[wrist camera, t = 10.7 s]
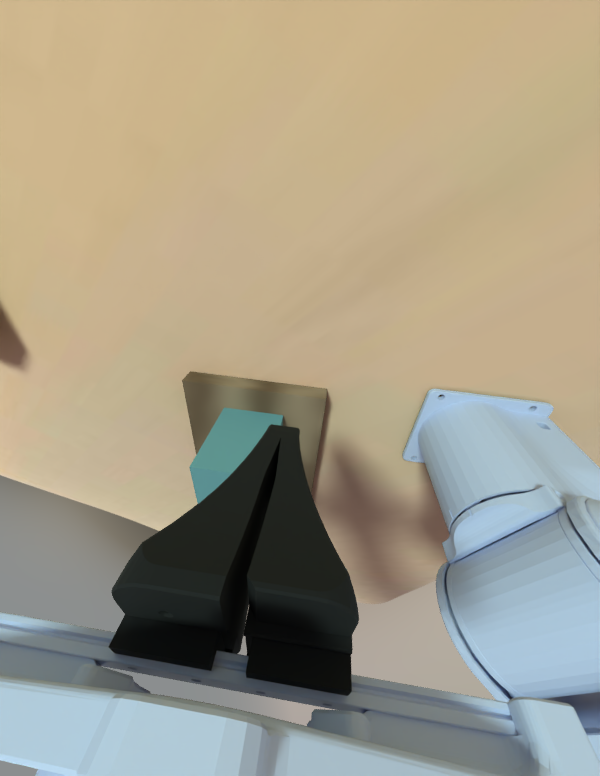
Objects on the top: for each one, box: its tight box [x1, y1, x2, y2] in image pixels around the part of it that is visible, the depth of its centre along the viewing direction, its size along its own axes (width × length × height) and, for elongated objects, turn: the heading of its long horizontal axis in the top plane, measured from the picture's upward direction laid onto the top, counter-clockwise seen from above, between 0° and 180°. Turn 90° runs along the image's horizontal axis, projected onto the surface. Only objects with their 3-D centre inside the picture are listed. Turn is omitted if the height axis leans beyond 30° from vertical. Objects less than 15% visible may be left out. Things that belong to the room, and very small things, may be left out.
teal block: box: [190, 408, 283, 504], centre depth 22 cm, size 5×5×7 cm
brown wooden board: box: [182, 372, 327, 492], centre depth 29 cm, size 12×23×2 cm, turn 176°
